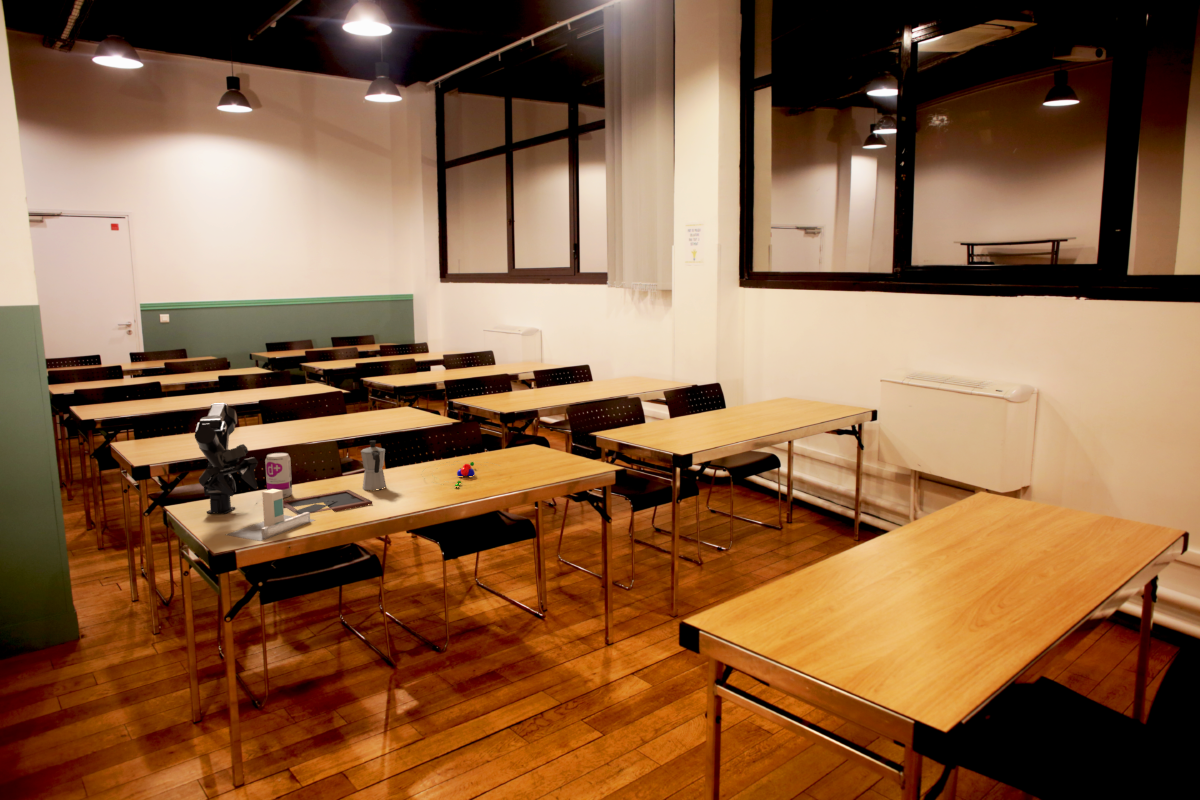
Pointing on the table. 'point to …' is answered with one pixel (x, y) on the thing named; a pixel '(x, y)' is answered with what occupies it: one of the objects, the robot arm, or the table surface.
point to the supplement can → (279, 473)
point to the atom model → (463, 471)
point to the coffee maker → (373, 467)
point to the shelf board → (256, 531)
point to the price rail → (285, 525)
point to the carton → (273, 506)
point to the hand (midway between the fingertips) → (244, 491)
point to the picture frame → (327, 502)
